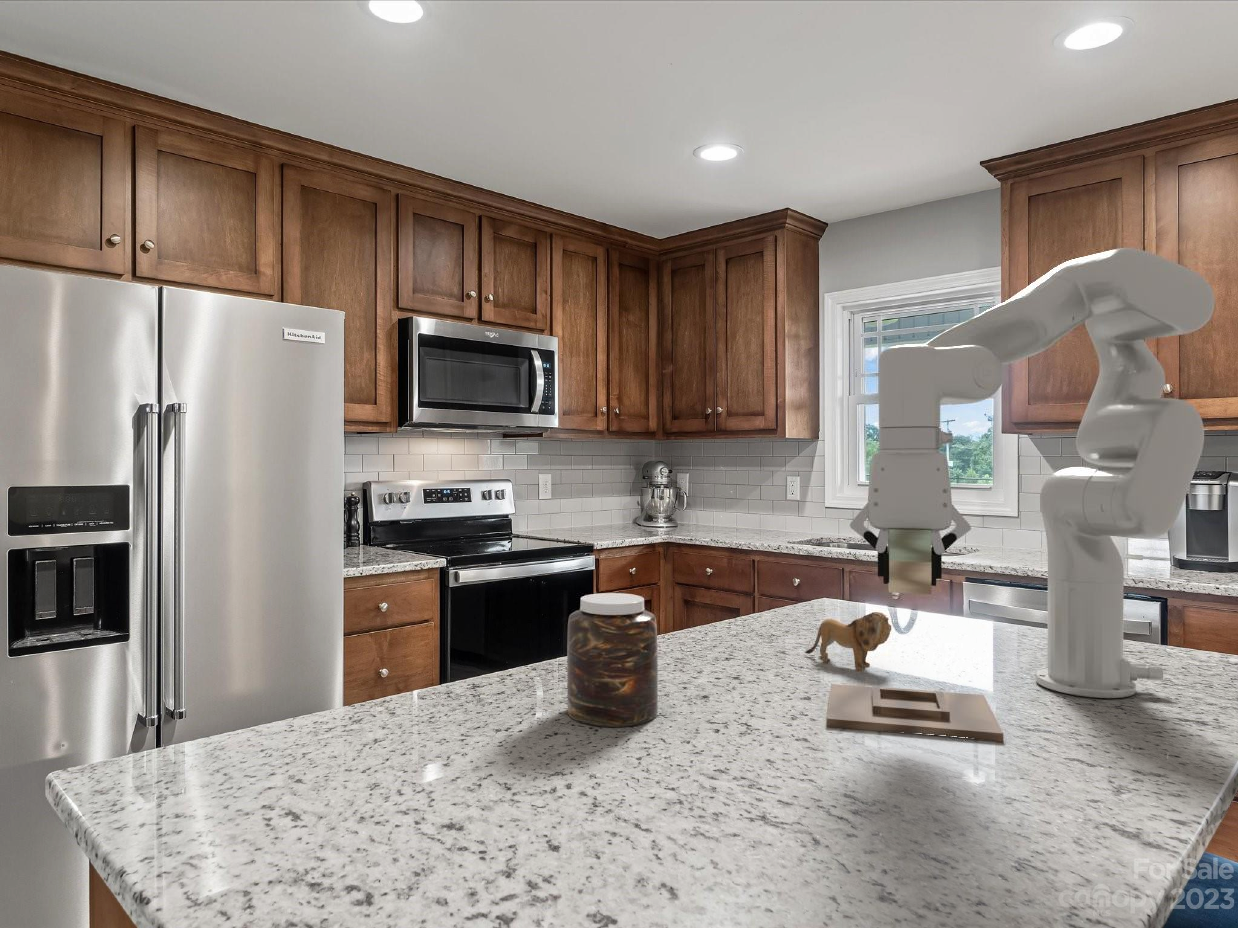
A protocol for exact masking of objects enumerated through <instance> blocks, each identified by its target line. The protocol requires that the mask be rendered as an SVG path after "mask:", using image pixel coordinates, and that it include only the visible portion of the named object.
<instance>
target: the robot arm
mask: <svg viewBox="0 0 1238 928" xmlns="http://www.w3.org/2000/svg"><path fill="white" fill-rule="evenodd" d="M1215 300H1216V298H1215V294H1214V290H1213V289H1212V287H1211V284H1209V282H1208V280H1207V279H1205V277H1203V276H1202V275H1201V274H1199V273H1198V272H1196V271H1194V270H1192V269H1190V268H1188V267H1186V266H1183V265H1181V264H1179V263H1177V262H1175V261H1173V260H1170V259H1167V258H1165V257H1162V256H1161V255H1158V254H1156V253H1153V252H1150V251H1146V250H1143V249H1138V248H1133V247H1121V248H1115V249H1110V250H1107V251H1103V252H1099V253H1095V254H1091V255H1087V256H1083V257H1078V258H1075V259H1071V260H1068V261H1066V262H1063V263H1062V264H1060V265H1058V266H1056V267H1053V269H1051V270H1050V271H1048V272H1047V273H1046V274H1044V275H1043V276H1041V277H1040V278H1038V279H1037V280H1036V281H1034V282H1032V283H1031V284H1029V285H1028V286H1027V287H1026V288H1024V289H1022V290H1021V291H1019V292H1018V293H1016V294H1015V295H1014V296H1012V297H1011V298H1009V299H1008V300H1005V302H1002V303H1000V304H998V305H996V306H994V307H992V308H990V309H987V310H986V311H983V312H982V313H980V314H977V315H976V316H973V317H972V318H970V319H968V320H966V321H964V322H962V323H959V324H957V325H955V326H953V327H951V328H950V329H947V330H945V331H943V332H942V333H940V334H938V335H936V336H934V337H933V338H931V340H928V341H927V342H925V343H924V344H903V345H896V346H895V345H894V346H890V347H888V348H885V349H883V351H881V353H880V355H879V359H878V453H872V456H871V461H870V466H869V475H868V489H867V490H868V491H867V492H868V493H867V503H866V504H865V505H864V506H863V508H861V510H860V511H859V512H858V513H857V515H856V516H855V517H854V518H853V519H852V520H851V522H850V524H849V527H850V529H852V530H853V531H854V532H856V534H857V535H860V536H861V537H862V538H863V539H864V540H865V541H866V542H867V543H868V544H869V545H870V546H871V547H872V548H873V549H874V550H876V552H877V577H882V583H883V585H888V583H889V552H888V539H889V529H914V530H931V587H937V579H938V580H939V579H940V580H941V579H942V575H943V574H942V573H943V572H942V567H943V566H942V564H943V563H942V560H943V559H942V558H943V557H942V555H943V554H944V553H945V552H946V551H947V550H948V549H949V548H950V547H951V546H952V545H954V544H955V542H956V541H957V540H958V539H960V538H962V537H963V536H965V535H966V534H967V533H969V532H970V531H971V530H972V526H971V525H970V523H969V522H968V520H966V519H965V518H964V516H963V515H962V513H960V511H958V509H957V507H955V506H954V505H953V503H952V502H953V501H952V487H951V475H950V470H949V462H948V457H947V453H946V452H945V453H943V452H941V449H942V447H943V446H944V445H947V444H950V445H951V444H953V441H954V440H953V439H954V436H953V433H952V432H951V433H950V432H949V433H948V432H947V431H944V430H942V427H941V406H947V405H948V406H949V405H951V406H953V405H965V404H967V405H968V404H974V403H975V404H977V403H979V402H983V401H985V400H987V399H989V398H991V397H992V396H994V395H995V394H996V392H997V391H999V389H1000V387H1001V386H1002V384H1003V381H1004V376H1005V375H1004V374H1005V373H1004V365H1007V364H1011V363H1015V362H1019V361H1021V360H1024V359H1027V358H1030V357H1033V356H1036V355H1037V354H1038V355H1039V354H1041V353H1043V352H1044V351H1045V350H1047V349H1049V348H1050V347H1051V346H1053V345H1054V344H1056V343H1057V342H1058V341H1060V339H1062V338H1063V337H1065V336H1066V335H1067V334H1069V333H1070V332H1072V331H1074V330H1075V328H1078V327H1079V326H1080V325H1081V324H1083V323H1085V324H1084V325H1085V328H1086V331H1087V333H1088V335H1089V338H1090V339H1091V342H1092V344H1093V347H1094V350H1095V352H1096V355H1097V358H1098V362H1099V364H1098V365H1099V372H1098V373H1099V374H1098V377H1097V381H1096V384H1095V387H1094V389H1093V391H1092V394H1091V396H1090V398H1089V401H1088V404H1087V406H1086V408H1085V411H1084V414H1083V417H1082V419H1081V422H1080V424H1079V427H1078V431H1077V434H1076V438H1075V447H1076V452H1077V453H1078V455H1079V456H1080V458H1081V459H1083V460H1084V461H1086V462H1088V463H1091V464H1094V465H1097V466H1073V467H1067V468H1063V469H1060V470H1058V471H1056V472H1054V473H1052V474H1050V475H1049V476H1048V478H1046V480H1045V482H1043V484H1042V487H1041V490H1040V495H1039V503H1040V510H1041V516H1042V521H1043V524H1044V529H1045V536H1046V546H1047V547H1046V549H1047V639H1046V640H1047V642H1046V644H1047V653H1046V654H1047V663H1046V665H1047V667H1046V668H1042V669H1039V670H1038V671H1036V672H1035V682H1036V683H1037V684H1039V685H1040V686H1041V687H1044V688H1046V689H1049V690H1051V691H1055V692H1059V693H1063V694H1068V695H1071V696H1072V695H1073V696H1077V697H1085V698H1086V697H1087V698H1097V699H1118V698H1120V699H1121V698H1127V697H1131V696H1133V695H1134V694H1136V693H1137V684H1136V683H1135V682H1137V680H1138V679H1144V680H1150V681H1160V682H1161V681H1163V679H1164V671H1163V668H1162V666H1160V665H1159V666H1158V665H1147V664H1146V663H1141V662H1139V663H1138V662H1131V661H1130V660H1129V659H1127V658H1126V657H1125V656H1124V587H1125V586H1124V581H1125V579H1124V578H1125V577H1124V575H1125V572H1124V570H1125V569H1124V562H1123V560H1122V556H1121V554H1120V552H1119V550H1118V548H1117V546H1116V544H1115V542H1114V541H1113V538H1112V537H1119V538H1127V539H1128V538H1129V539H1144V540H1145V539H1148V540H1149V539H1155V538H1159V537H1161V536H1163V535H1165V534H1166V533H1167V532H1169V530H1171V528H1172V527H1173V526H1174V524H1175V523H1176V520H1177V518H1178V517H1179V515H1180V512H1181V509H1182V506H1183V504H1184V501H1185V499H1186V496H1187V494H1188V490H1189V488H1190V486H1191V482H1192V480H1193V477H1194V475H1195V472H1196V470H1197V467H1198V465H1199V461H1200V458H1201V455H1202V452H1203V449H1204V448H1203V447H1204V444H1205V428H1204V423H1203V419H1202V417H1201V415H1200V413H1199V411H1198V410H1197V409H1196V407H1195V406H1193V405H1192V404H1190V403H1189V402H1188V401H1184V400H1183V399H1178V398H1172V397H1171V398H1170V397H1166V398H1165V397H1164V398H1162V395H1163V392H1164V388H1165V385H1166V375H1165V370H1164V368H1163V366H1162V365H1161V363H1160V361H1159V360H1158V358H1157V357H1156V356H1155V355H1154V353H1153V352H1152V351H1151V350H1150V348H1149V346H1148V345H1147V343H1146V342H1145V340H1151V339H1159V338H1165V337H1171V336H1172V337H1173V336H1181V335H1187V334H1190V333H1193V332H1196V331H1198V330H1199V329H1202V328H1203V327H1204V326H1205V325H1207V323H1208V322H1209V321H1210V320H1211V318H1212V315H1213V314H1214V312H1215V311H1214V310H1215V307H1216V304H1215V303H1216V301H1215ZM867 519H868V523H869V524H870V526H872V527H873V529H877V530H879V533H878V535H876V534H875V533H873V531H871V530H870V529H868V527H866V526H865V522H866V520H867ZM952 522H953V524H954V525H955V527H954V528H952V530H950V531H948V532H947V533H945V534H944V535H943V536H942V537H941V533H940V531H944V530H945V531H946V530H947V529H949V528H950V527H951V526H952Z"/></svg>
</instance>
